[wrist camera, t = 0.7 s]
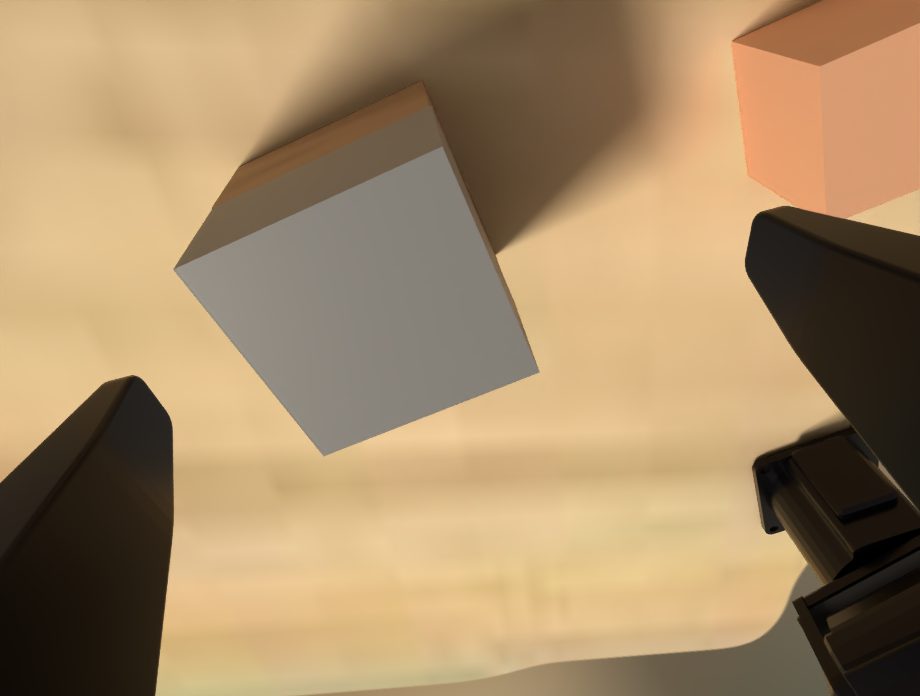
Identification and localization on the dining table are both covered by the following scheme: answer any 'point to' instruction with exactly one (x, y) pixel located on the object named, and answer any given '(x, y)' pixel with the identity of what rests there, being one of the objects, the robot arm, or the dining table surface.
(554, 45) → the dining table surface
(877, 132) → the terracotta cube
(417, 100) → the tower base
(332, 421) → the tower top
